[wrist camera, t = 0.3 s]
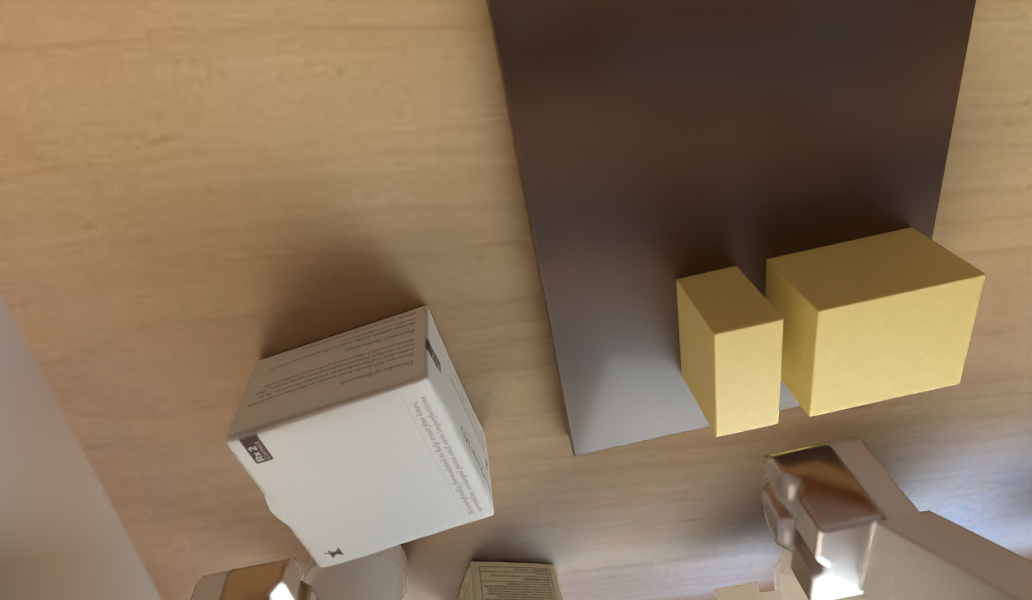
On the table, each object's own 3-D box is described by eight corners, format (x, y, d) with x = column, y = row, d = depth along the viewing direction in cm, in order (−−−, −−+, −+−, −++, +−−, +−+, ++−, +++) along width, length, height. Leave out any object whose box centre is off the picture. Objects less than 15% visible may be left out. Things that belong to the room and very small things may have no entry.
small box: (488, 432, 30) (499, 519, 25) (333, 480, 30) (317, 575, 26) (429, 299, 26) (430, 375, 21) (250, 356, 26) (215, 443, 22)
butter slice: (675, 278, 25) (714, 334, 22) (736, 264, 25) (784, 318, 22) (680, 375, 28) (716, 438, 24) (736, 363, 28) (779, 424, 24)
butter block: (765, 258, 25) (818, 310, 22) (911, 226, 25) (986, 273, 22) (762, 357, 28) (809, 417, 24) (895, 327, 28) (960, 384, 24)
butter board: (470, -83, 19) (473, -83, 18) (983, -193, 19) (1014, -200, 18) (569, 439, 31) (574, 456, 30) (889, 368, 31) (905, 383, 30)
